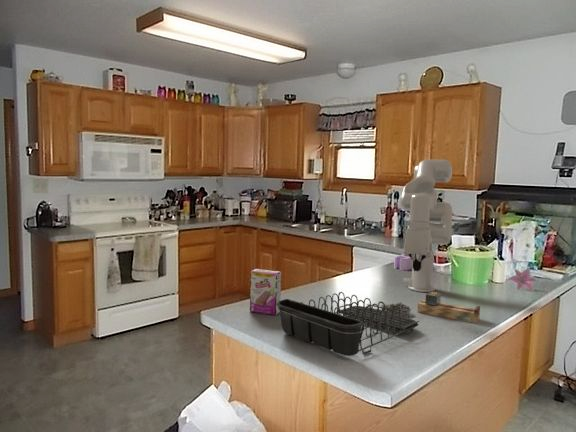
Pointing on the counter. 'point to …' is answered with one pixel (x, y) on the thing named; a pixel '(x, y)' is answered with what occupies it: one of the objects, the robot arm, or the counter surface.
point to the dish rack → (340, 323)
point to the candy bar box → (265, 291)
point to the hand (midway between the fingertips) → (416, 270)
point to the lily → (523, 279)
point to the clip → (403, 262)
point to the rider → (433, 298)
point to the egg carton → (402, 308)
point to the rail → (450, 311)
